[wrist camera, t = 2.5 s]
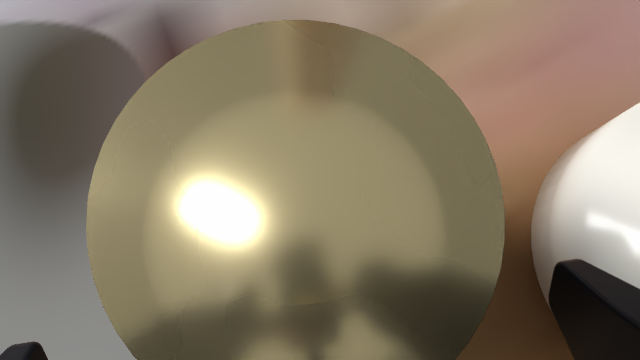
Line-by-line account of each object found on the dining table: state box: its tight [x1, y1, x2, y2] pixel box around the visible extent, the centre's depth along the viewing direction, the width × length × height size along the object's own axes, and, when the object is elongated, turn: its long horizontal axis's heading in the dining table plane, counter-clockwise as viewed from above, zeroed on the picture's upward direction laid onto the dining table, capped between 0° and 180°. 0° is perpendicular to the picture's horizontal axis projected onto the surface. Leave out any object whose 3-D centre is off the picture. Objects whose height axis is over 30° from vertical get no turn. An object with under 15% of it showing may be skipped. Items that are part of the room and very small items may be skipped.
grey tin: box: [86, 20, 505, 360], centre depth 13 cm, size 6×6×11 cm
